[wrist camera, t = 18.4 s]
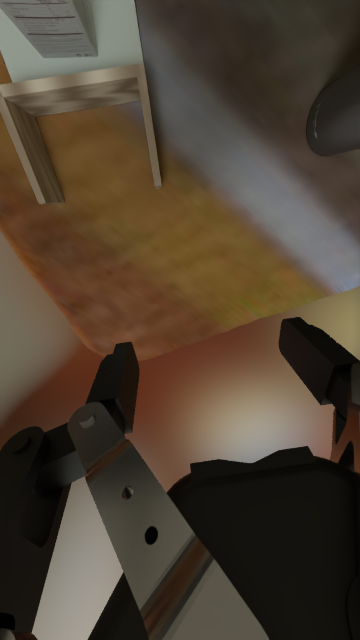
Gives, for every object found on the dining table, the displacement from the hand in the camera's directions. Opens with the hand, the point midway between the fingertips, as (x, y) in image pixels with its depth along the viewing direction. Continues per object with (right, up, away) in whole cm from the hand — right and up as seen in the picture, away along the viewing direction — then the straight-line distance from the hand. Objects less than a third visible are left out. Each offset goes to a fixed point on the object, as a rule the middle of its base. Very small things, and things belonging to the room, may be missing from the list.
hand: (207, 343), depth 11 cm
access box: (-14, +28, +22) cm, 38 cm away
